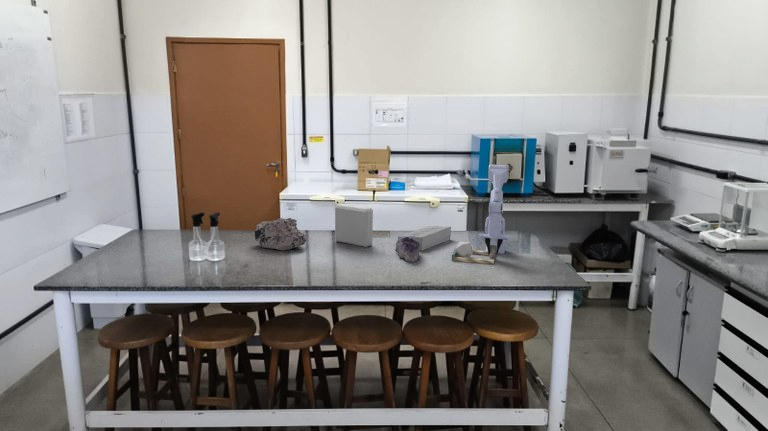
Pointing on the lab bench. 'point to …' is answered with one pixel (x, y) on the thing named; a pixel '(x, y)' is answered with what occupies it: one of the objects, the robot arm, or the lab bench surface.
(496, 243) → the robot arm
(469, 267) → the lab bench surface
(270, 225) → the mineral sample
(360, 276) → the lab bench surface
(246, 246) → the lab bench surface
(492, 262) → the tan frame
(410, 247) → the geode
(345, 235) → the grey thick block
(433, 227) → the long grey block
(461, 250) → the die
